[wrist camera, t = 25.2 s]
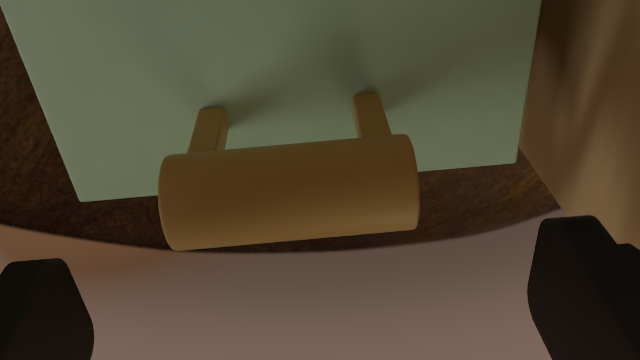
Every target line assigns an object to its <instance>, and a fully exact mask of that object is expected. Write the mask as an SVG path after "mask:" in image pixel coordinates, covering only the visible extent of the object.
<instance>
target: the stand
mask: <svg viewBox="0 0 640 360" xmlns="http://www.w3.org/2000/svg"><path fill="white" fill-rule="evenodd" d="M519 147H520V149H521V150H522V152H523V153H524V155H525V156H526V158H527V159H528V160H529V162H530V163H531V165H532V166H533V168H534V169H535V171H536V172H537V173H538V175H539V176H540V178H541V179H542V181H543V182H544V184H545V185H546V187H547V188H548V189H549V191H550V192H551V194H552V195H553V197H554V198H555V200H556V201H557V202H558V204H559V205H560V207H561V208H562V210H563V211H564V213H565V214H566V215H567V217H571V216H583V215H592V216H595V217H596V218H597V219H598V220H599V221H600V222H601V223H602V225H603V226H604V227H605V229H606V230H607V231H608V233H609V234H610V235H611V236H612V238H613V239H614V240H615V242H616V243H617V244H624V243H630V244H632V245H633V246H635V247H636V248H638V249H639V250H640V0H542V1H541V8H540V14H539V20H538V27H537V33H536V39H535V46H534V52H533V58H532V65H531V71H530V78H529V84H528V90H527V97H526V103H525V109H524V116H523V122H522V128H521V135H520V141H519Z"/></svg>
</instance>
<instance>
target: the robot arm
mask: <svg viewBox="0 0 640 360" xmlns="http://www.w3.org/2000/svg"><path fill="white" fill-rule="evenodd" d="M527 293H528V303H529V308H530V312H531V315H532V319H533V321H534V323H535V325H536V327H537V329H538V331H539V334H540V336H541V338H542V340H543V342H544V344H545V346H546V348H547V350H548V352H549V354H550V356H551V358H552V360H640V250H639V249H638V248H636V247H635V246H633V245H632V244H630V243H624V244H617V243H616V242H615V240H614V239H613V238H612V236H611V235H610V234H609V233H608V231H607V230H606V229H605V227H604V226H603V225H602V223H601V222H600V221H599V220H598V219H597V218H596V217H595V216H592V215H583V216H571V217H559V218H547V219H544V220H543V221H542V222H541V224H540V227H539V230H538V236H537V241H536V246H535V251H534V256H533V261H532V266H531V271H530V276H529V281H528V289H527ZM93 345H94V330H93V324H92V321H91V318H90V315H89V313H88V311H87V309H86V306H85V304H84V302H83V300H82V298H81V295H80V293H79V290H78V288H77V286H76V284H75V282H74V279H73V277H72V275H71V272H70V270H69V268H68V266H67V264H66V263H65V262H64V261H63V260H62V259H59V258H53V259H41V260H29V261H17V262H12V263H10V264H8V265H7V266H6V267H5V268H4V270H3V271H2V273H1V274H0V360H90V358H91V356H92V351H93Z"/></svg>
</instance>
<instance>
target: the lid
mask: <svg viewBox="0 0 640 360" xmlns="http://www.w3.org/2000/svg"><path fill="white" fill-rule="evenodd" d="M541 1H542V0H0V6H1V8H2V11H3V13H4V16H5V18H6V20H7V23H8V25H9V28H10V30H11V33H12V35H13V38H14V40H15V43H16V45H17V48H18V50H19V53H20V55H21V57H22V60H23V62H24V65H25V67H26V70H27V72H28V75H29V77H30V80H31V82H32V85H33V87H34V90H35V92H36V95H37V97H38V99H39V102H40V104H41V107H42V109H43V112H44V114H45V117H46V119H47V122H48V124H49V127H50V129H51V132H52V134H53V136H54V139H55V141H56V144H57V146H58V149H59V151H60V154H61V156H62V159H63V161H64V164H65V166H66V169H67V171H68V173H69V176H70V178H71V181H72V183H73V186H74V188H75V191H76V193H77V196H78V198H79V200H80V201H81V202H85V201H96V200H108V199H119V198H130V197H141V196H152V195H158V205H159V214H160V220H161V224H162V228H163V232H164V235H165V238H166V240H167V242H168V244H169V246H170V247H171V248H172V249H174V250H176V251H181V250H192V249H203V248H214V247H225V246H236V245H247V244H258V243H270V242H281V241H292V240H303V239H314V238H325V237H336V236H347V235H359V234H370V233H381V232H392V231H403V230H413V229H415V228H416V227H417V224H418V220H419V212H420V191H419V178H418V172H420V171H431V170H442V169H453V168H464V167H476V166H487V165H498V164H509V163H515V162H516V160H517V154H518V147H519V141H520V135H521V128H522V122H523V116H524V109H525V103H526V97H527V90H528V84H529V78H530V71H531V65H532V58H533V52H534V46H535V39H536V33H537V27H538V20H539V14H540V8H541Z"/></svg>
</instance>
